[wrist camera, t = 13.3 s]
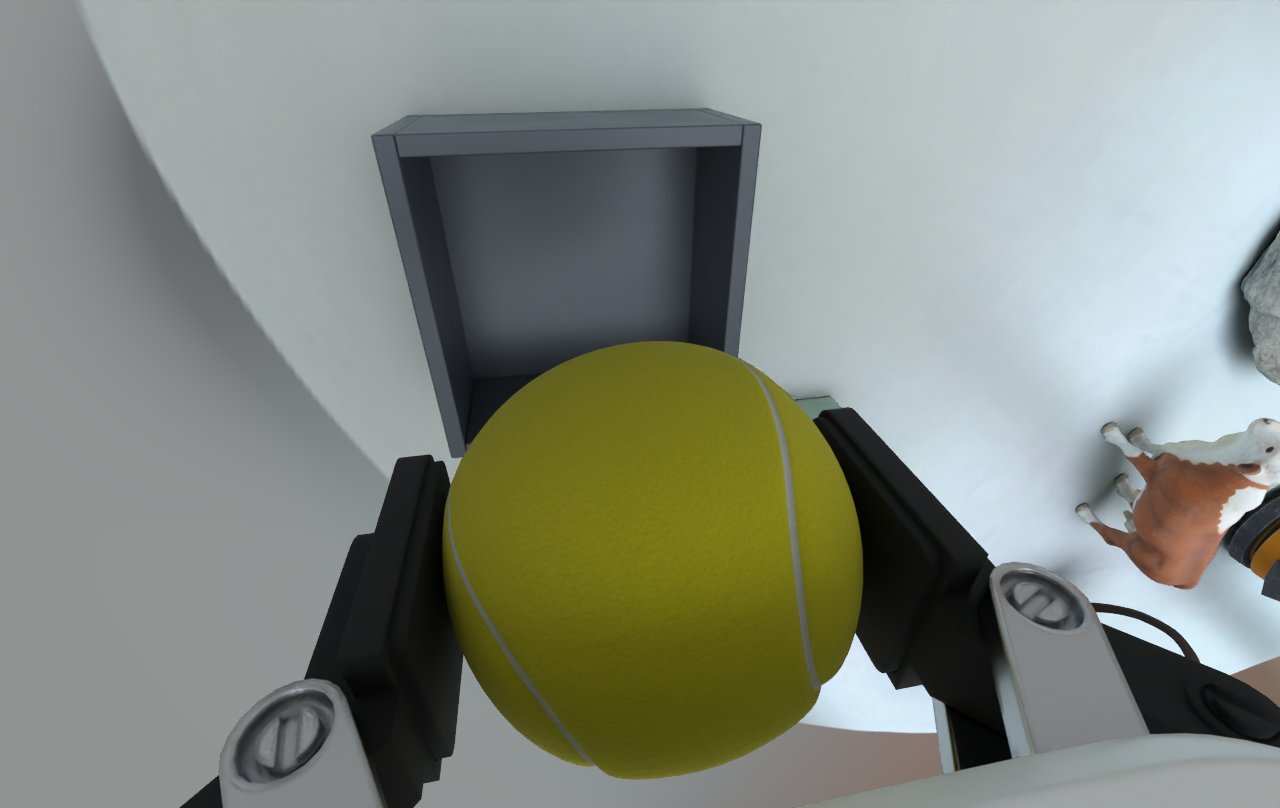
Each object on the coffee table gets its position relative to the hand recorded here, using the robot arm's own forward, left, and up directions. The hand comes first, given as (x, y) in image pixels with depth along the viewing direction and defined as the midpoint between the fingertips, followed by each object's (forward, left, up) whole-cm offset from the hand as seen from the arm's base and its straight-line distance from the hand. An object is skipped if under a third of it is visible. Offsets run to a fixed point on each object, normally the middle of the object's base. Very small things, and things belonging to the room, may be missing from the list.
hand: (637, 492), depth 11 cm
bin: (0, 0, -15) cm, 15 cm away
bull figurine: (+36, -16, -15) cm, 42 cm away
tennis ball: (0, 0, -2) cm, 2 cm away
